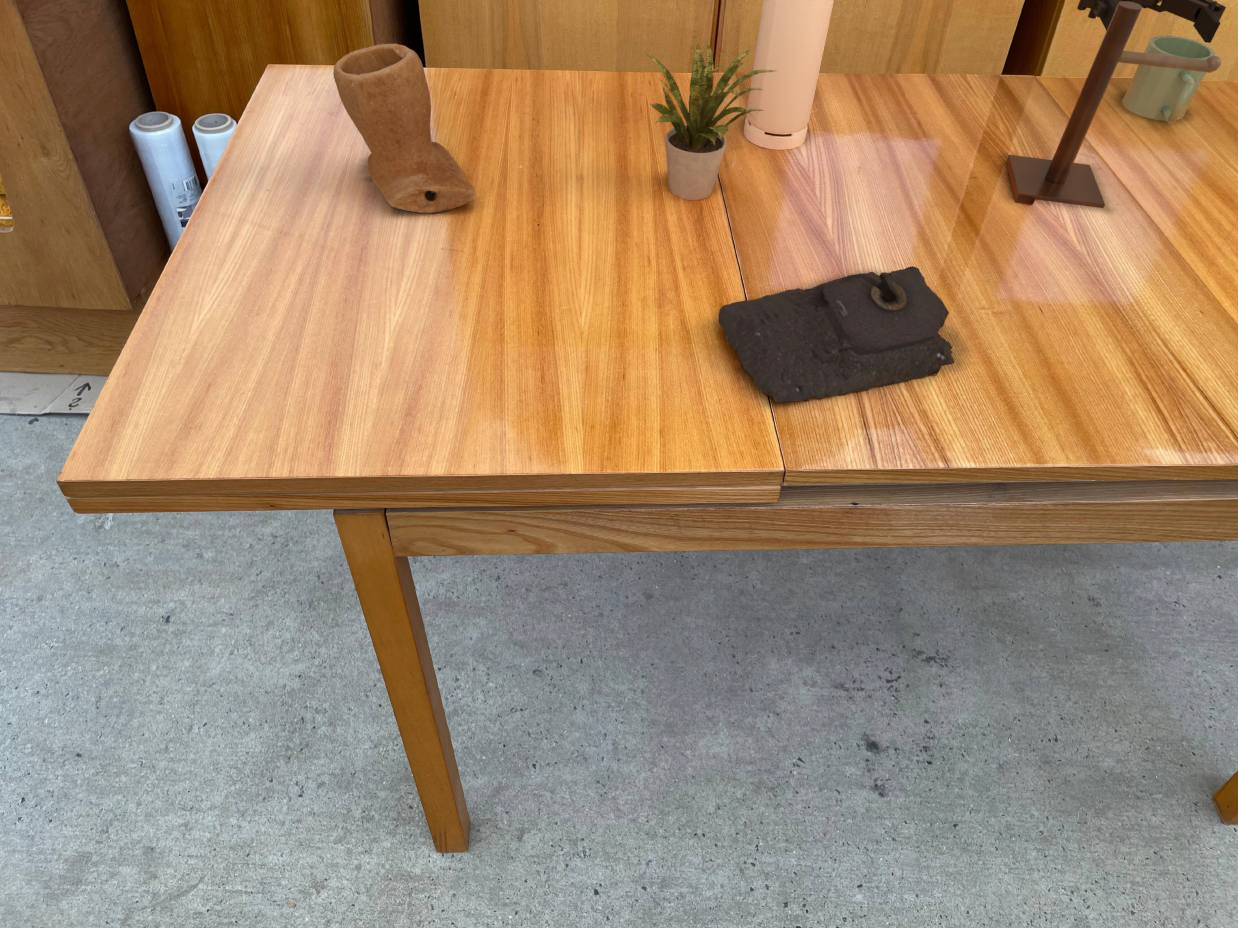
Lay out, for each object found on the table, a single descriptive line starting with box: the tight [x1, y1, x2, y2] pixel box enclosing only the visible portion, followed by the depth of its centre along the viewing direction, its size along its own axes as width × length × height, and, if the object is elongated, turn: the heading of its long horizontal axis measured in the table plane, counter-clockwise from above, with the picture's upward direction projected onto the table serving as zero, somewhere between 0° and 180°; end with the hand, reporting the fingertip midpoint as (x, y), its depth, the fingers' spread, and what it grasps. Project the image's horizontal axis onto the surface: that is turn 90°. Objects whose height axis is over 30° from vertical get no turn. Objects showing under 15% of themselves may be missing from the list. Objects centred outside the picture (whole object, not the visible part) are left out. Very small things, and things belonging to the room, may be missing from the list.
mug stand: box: [1005, 1, 1222, 209], centre depth 102 cm, size 17×10×21 cm, turn 80°
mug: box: [1121, 35, 1216, 126], centre depth 121 cm, size 12×8×9 cm
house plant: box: [646, 39, 779, 201], centre depth 99 cm, size 14×14×16 cm
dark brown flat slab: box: [717, 266, 956, 403], centre depth 85 cm, size 15×22×5 cm
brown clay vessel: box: [332, 43, 477, 214], centre depth 97 cm, size 15×12×15 cm
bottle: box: [743, 0, 835, 151], centre depth 106 cm, size 8×8×28 cm
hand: (1162, 27), depth 126 cm, fingers open, 13 cm apart
